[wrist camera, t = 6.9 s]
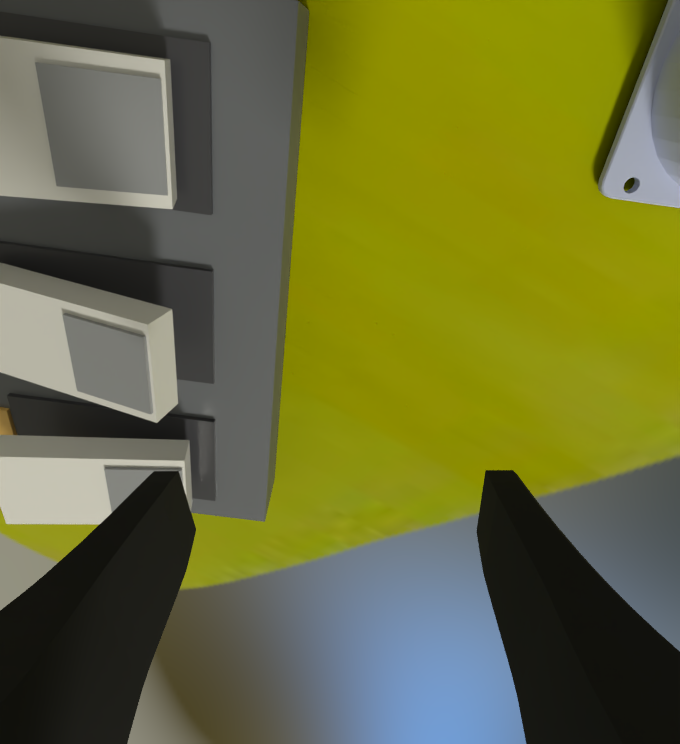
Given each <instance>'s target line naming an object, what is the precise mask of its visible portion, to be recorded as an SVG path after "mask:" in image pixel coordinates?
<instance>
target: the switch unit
mask: <svg viewBox="0 0 680 744" xmlns="http://www.w3.org/2000/svg"><path fill="white" fill-rule="evenodd" d="M308 21H309V10H308V9H307V8H306V7H304V6H303V5H302V4H301V3H300V2H299V1H296V0H0V36H7V37H14V38H21V39H28V40H35V41H43V42H50V43H57V44H64V45H71V46H78V47H86V48H93V49H100V50H107V51H114V52H121V53H129V54H136V55H143V56H150V57H157V58H164V59H170V65H171V85H172V105H173V125H174V145H175V165H176V185H177V200H176V203H175V205H174V207H173V209H162V208H150V207H137V206H124V205H112V204H99V203H86V202H74V201H61V200H49V199H36V198H23V197H11V196H0V263H4V264H8V265H11V266H15V267H19V268H22V269H26V270H30V271H33V272H37V273H41V274H45V275H48V276H52V277H56V278H59V279H63V280H67V281H70V282H74V283H78V284H82V285H85V286H89V287H93V288H96V289H100V290H104V291H107V292H111V293H115V294H118V295H122V296H126V297H130V298H133V299H137V300H141V301H144V302H148V303H152V304H155V305H159V306H163V307H166V308H170V309H172V313H173V329H174V345H175V361H176V377H177V393H178V404H177V405H176V406H175V407H174V408H173V409H172V410H171V411H169V412H168V413H167V414H166V415H165V416H164V417H163V418H162V419H161V420H160V421H159V422H158V423H155V422H152V421H149V420H146V419H143V418H140V417H137V416H134V415H131V414H128V413H125V412H121V411H118V410H115V409H112V408H109V407H106V406H103V405H100V404H97V403H94V402H91V401H88V400H84V399H81V398H78V397H75V396H72V395H69V394H66V393H63V392H60V391H57V390H54V389H50V388H47V387H44V386H41V385H38V384H35V383H32V382H29V381H26V380H23V379H20V378H16V377H13V376H10V375H7V374H4V373H1V372H0V435H25V436H61V437H97V438H133V439H169V440H189V444H190V464H191V484H192V507H191V513H199V514H207V515H216V516H224V517H232V518H240V519H248V520H256V521H265V519H266V514H267V510H268V506H269V501H270V497H271V492H272V488H273V483H274V477H275V464H276V450H277V437H278V423H279V410H280V396H281V383H282V370H283V356H284V343H285V329H286V316H287V303H288V289H289V276H290V262H291V249H292V236H293V222H294V209H295V195H296V182H297V168H298V155H299V142H300V128H301V115H302V101H303V88H304V75H305V61H306V48H307V34H308Z"/></svg>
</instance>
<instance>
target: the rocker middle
mask: <svg viewBox="0 0 680 744" xmlns="http://www.w3.org/2000/svg"><path fill="white" fill-rule="evenodd" d="M0 372H1V373H4V374H7V375H10V376H13V377H16V378H20V379H23V380H26V381H29V382H32V383H35V384H38V385H41V386H44V387H47V388H50V389H54V390H57V391H60V392H63V393H66V394H69V395H72V396H75V397H78V398H81V399H84V400H88V401H91V402H94V403H97V404H100V405H103V406H106V407H109V408H112V409H115V410H118V411H121V412H125V413H128V414H131V415H134V416H137V417H140V418H143V419H146V420H149V421H152V422H155V423H158V422H159V421H160V420H161V419H162V418H163V417H164V416H165V415H166V414H167V413H168V412H169V411H171V410H172V409H173V408H174V407H175V406H176V405H177V404H178V393H177V377H176V361H175V345H174V329H173V313H172V309H170V308H166V307H163V306H159V305H155V304H152V303H148V302H144V301H141V300H137V299H133V298H130V297H126V296H122V295H118V294H115V293H111V292H107V291H104V290H100V289H96V288H93V287H89V286H85V285H82V284H78V283H74V282H70V281H67V280H63V279H59V278H56V277H52V276H48V275H45V274H41V273H37V272H33V271H30V270H26V269H22V268H19V267H15V266H11V265H8V264H4V263H0Z"/></svg>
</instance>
